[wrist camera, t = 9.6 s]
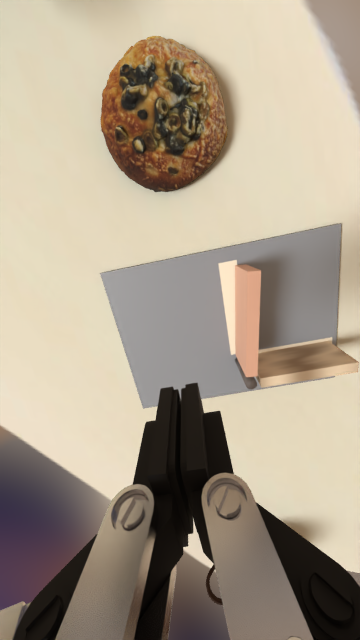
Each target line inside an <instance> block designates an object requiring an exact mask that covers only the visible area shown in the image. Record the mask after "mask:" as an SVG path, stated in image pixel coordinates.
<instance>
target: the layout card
mask: <svg viewBox="0 0 360 640" xmlns="http://www.w3.org/2000/svg"><path fill="white" fill-rule="evenodd" d="M340 242H341V224H335V225H330V226H326V227H321V228H316V229H311V230H306V231H302V232H297V233H292V234H287V235H282V236H277V237H273V238H268V239H263V240H258V241H253V242H249V243H244V244H239V245H234V246H229V247H224V248H220V249H215V250H210V251H205V252H200V253H195V254H191V255H186V256H181V257H176V258H171V259H167V260H162V261H157V262H152V263H147V264H142V265H138V266H133V267H128V268H123V269H118V270H114V271H109V272H104V273H100V274H101V278H102V281H103V284H104V287H105V290H106V293H107V296H108V299H109V303H110V306H111V309H112V312H113V315H114V318H115V321H116V325H117V328H118V331H119V334H120V337H121V340H122V343H123V346H124V350H125V353H126V356H127V359H128V362H129V365H130V368H131V372H132V375H133V378H134V381H135V384H136V387H137V390H138V394H139V397H140V400H141V403H142V406H143V408H149V407H155V406H158V402H159V395H160V389H161V388H166V387H173V388H174V390H175V389H178V390H179V394H180V399H181V389H182V388H185V385H186V384H191V383H198V387H199V391H200V396H201V399H204V398H210V397H216V396H223V395H229V394H235V393H241V392H247V391H253V390H259V389H266V388H272V387H278V386H284V385H290V384H296V383H302V382H308V381H315V380H321V379H327V378H333V377H335V376H331V377H325V378H318V379H312V380H306V381H300V382H294V383H288V384H282V385H276V386H270V387H263V388H261V386H260V384H259V382H258V381H257V379H256V377H254V378H255V380H256V382H257V387H256V388H254V389H248V388H247V387H246V385H245V383H244V381H243V378H242V376H241V374H240V372H239V369H238V367H237V365H236V362H235V359H236V355H235V265H244V264H247V265H249V266H252V267H254V268H256V269H259V270H261V290H260V319H259V348H258V353H261V352H267V351H272V350H278V349H284V348H290V347H295V346H301V345H307V344H313V343H318V342H324V341H329V342H331V343H332V344H333V345H335V346H336V337H337V313H338V289H339V266H340Z"/></svg>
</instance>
